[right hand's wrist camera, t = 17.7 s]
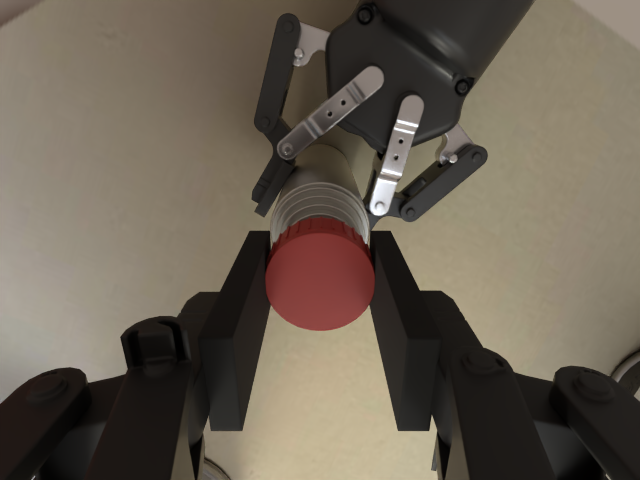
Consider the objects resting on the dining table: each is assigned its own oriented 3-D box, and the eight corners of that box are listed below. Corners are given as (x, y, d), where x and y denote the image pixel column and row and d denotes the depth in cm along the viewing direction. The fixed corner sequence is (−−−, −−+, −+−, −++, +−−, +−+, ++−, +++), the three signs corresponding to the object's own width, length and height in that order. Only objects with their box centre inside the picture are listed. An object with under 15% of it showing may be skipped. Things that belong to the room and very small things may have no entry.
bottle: (278, 160, 29) (229, 248, 13) (334, 133, 28) (353, 191, 12) (306, 213, 30) (291, 349, 15) (360, 189, 30) (405, 303, 14)
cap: (373, 305, 15) (379, 328, 14) (275, 312, 15) (271, 336, 14) (369, 211, 14) (375, 226, 12) (261, 220, 14) (254, 236, 12)
